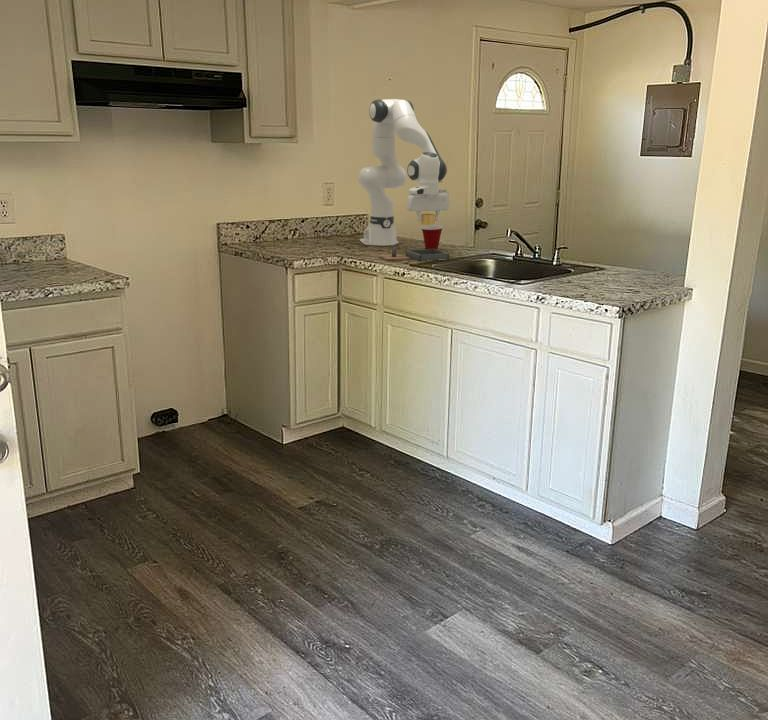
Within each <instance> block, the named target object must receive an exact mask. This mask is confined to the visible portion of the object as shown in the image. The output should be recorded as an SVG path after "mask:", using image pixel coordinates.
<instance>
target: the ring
mask: <svg viewBox="0 0 768 720" xmlns="http://www.w3.org/2000/svg"><path fill="white" fill-rule="evenodd" d="M435 214H436V213H421V214H420V215H421V217H423V221H420V225H421V226H427V225H436V221H435Z"/></svg>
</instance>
